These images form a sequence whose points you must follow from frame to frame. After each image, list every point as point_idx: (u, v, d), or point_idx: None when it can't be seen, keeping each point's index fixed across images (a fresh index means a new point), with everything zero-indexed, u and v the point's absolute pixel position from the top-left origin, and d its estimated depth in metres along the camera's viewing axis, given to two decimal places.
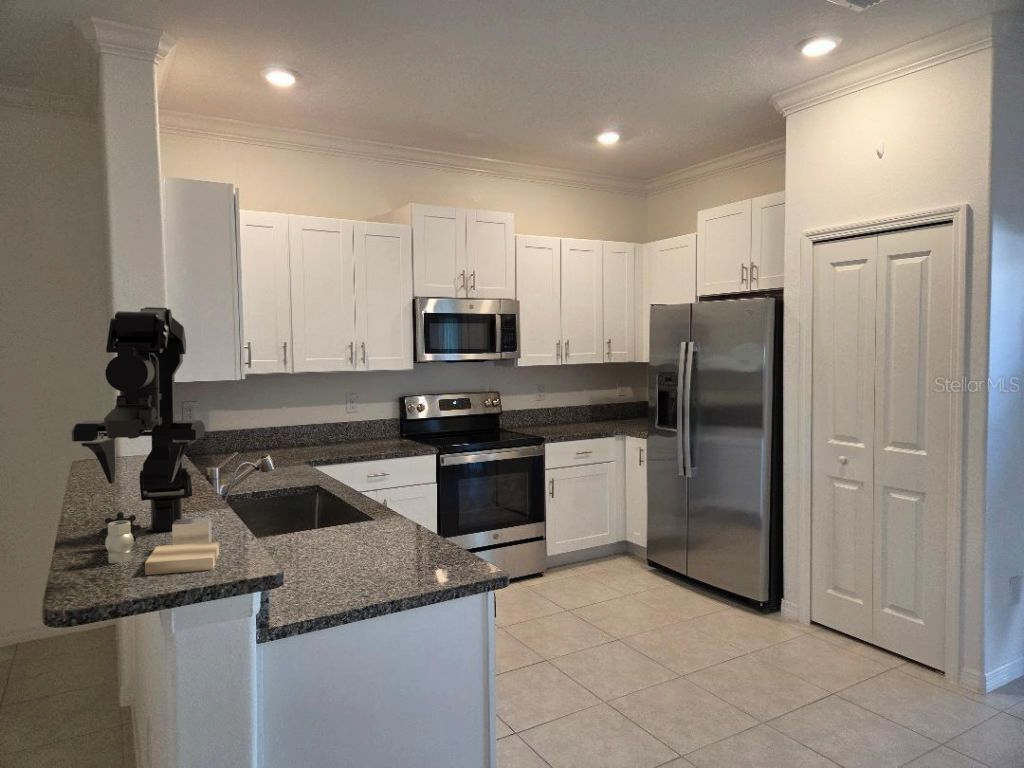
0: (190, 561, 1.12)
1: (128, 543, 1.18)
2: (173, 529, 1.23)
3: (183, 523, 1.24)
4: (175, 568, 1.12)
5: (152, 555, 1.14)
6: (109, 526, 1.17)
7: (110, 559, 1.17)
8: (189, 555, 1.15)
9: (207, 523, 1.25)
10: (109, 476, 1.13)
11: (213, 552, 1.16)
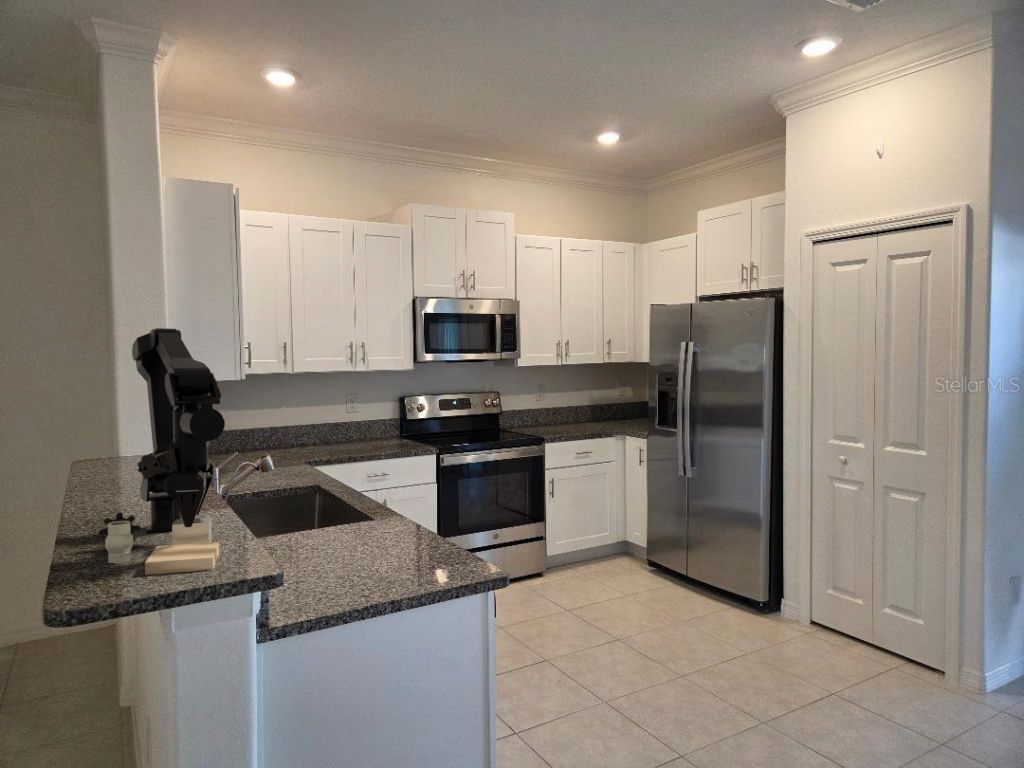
0: (190, 561, 1.12)
1: (128, 544, 1.17)
2: (173, 529, 1.23)
3: (183, 523, 1.24)
4: (175, 568, 1.12)
5: (152, 555, 1.14)
6: (109, 526, 1.16)
7: (110, 559, 1.17)
8: (189, 555, 1.15)
9: (207, 523, 1.25)
10: None
11: (213, 552, 1.16)
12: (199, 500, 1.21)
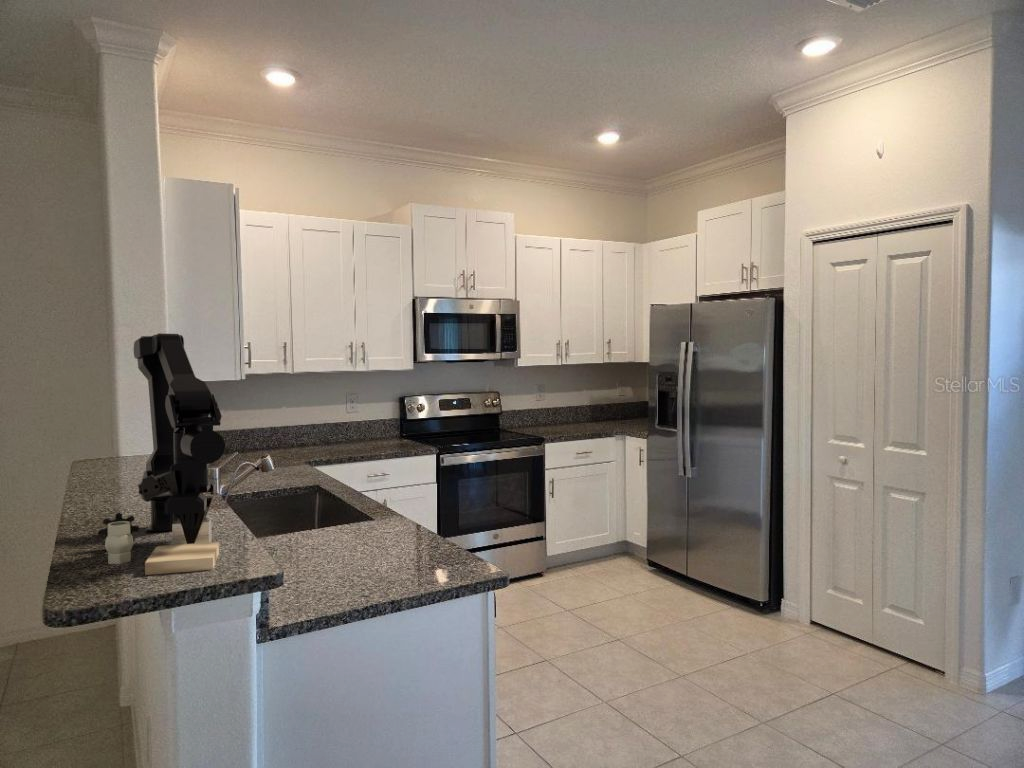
0: (190, 561, 1.12)
1: (128, 544, 1.17)
2: (173, 528, 1.23)
3: None
4: (175, 568, 1.12)
5: (152, 555, 1.14)
6: (109, 527, 1.16)
7: (110, 560, 1.16)
8: (189, 555, 1.15)
9: (207, 522, 1.25)
10: None
11: (213, 552, 1.16)
12: (201, 519, 1.23)
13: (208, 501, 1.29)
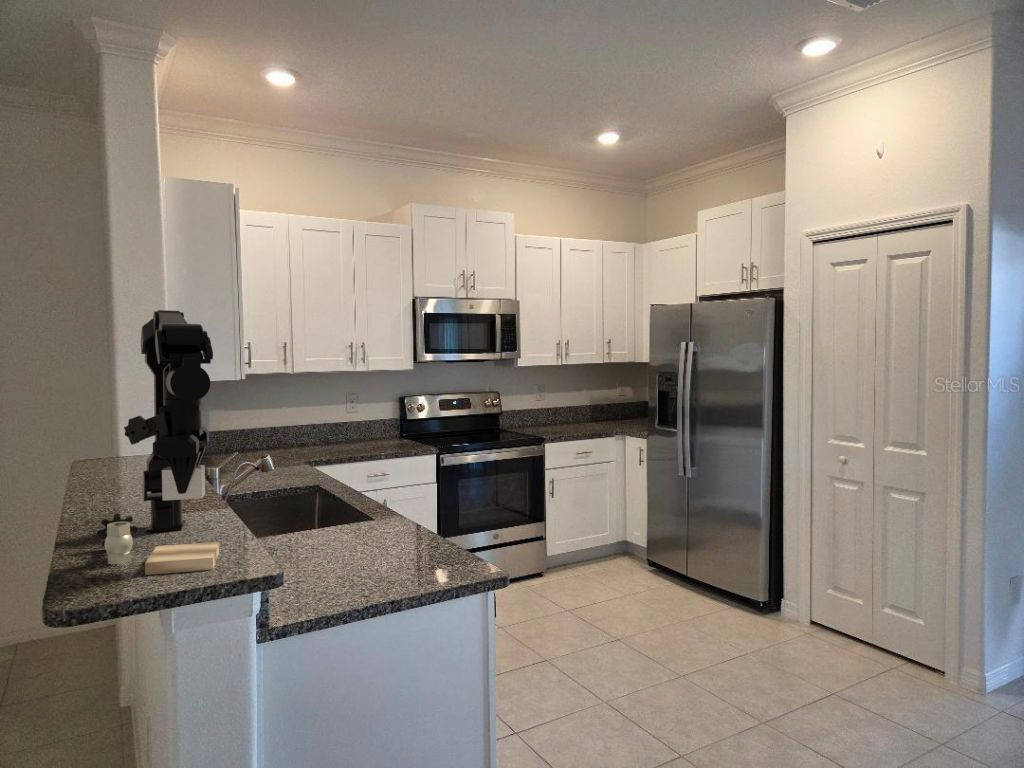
0: (190, 561, 1.12)
1: (127, 545, 1.17)
2: (163, 475, 1.14)
3: None
4: (175, 568, 1.12)
5: (152, 555, 1.14)
6: (108, 527, 1.16)
7: (110, 560, 1.16)
8: (189, 555, 1.15)
9: (200, 469, 1.15)
10: None
11: (213, 552, 1.16)
12: (193, 464, 1.13)
13: (201, 448, 1.20)
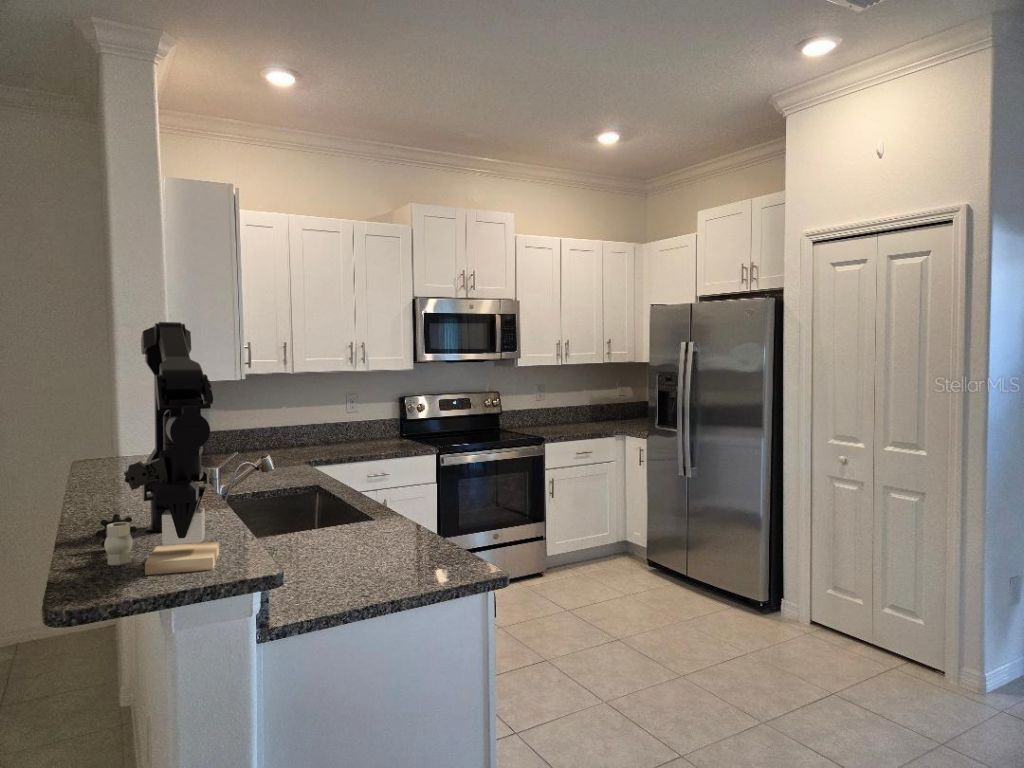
0: (190, 561, 1.12)
1: (127, 545, 1.17)
2: (163, 520, 1.14)
3: None
4: (175, 568, 1.12)
5: (152, 555, 1.14)
6: (108, 528, 1.16)
7: (109, 561, 1.16)
8: (189, 555, 1.15)
9: (200, 513, 1.16)
10: None
11: (213, 552, 1.16)
12: (193, 509, 1.13)
13: (201, 491, 1.20)
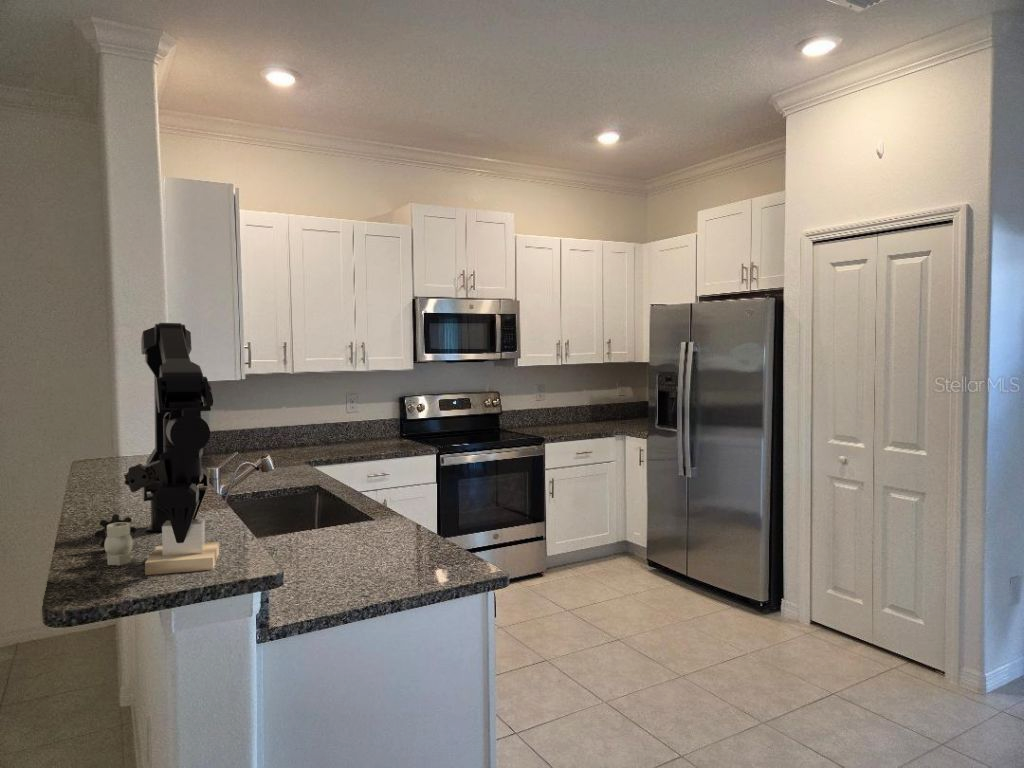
0: (190, 561, 1.12)
1: (128, 545, 1.16)
2: (163, 531, 1.14)
3: None
4: (175, 568, 1.12)
5: (152, 555, 1.14)
6: (109, 528, 1.15)
7: (109, 561, 1.16)
8: (189, 555, 1.15)
9: (200, 524, 1.16)
10: None
11: (213, 552, 1.16)
12: (192, 514, 1.12)
13: (202, 491, 1.21)
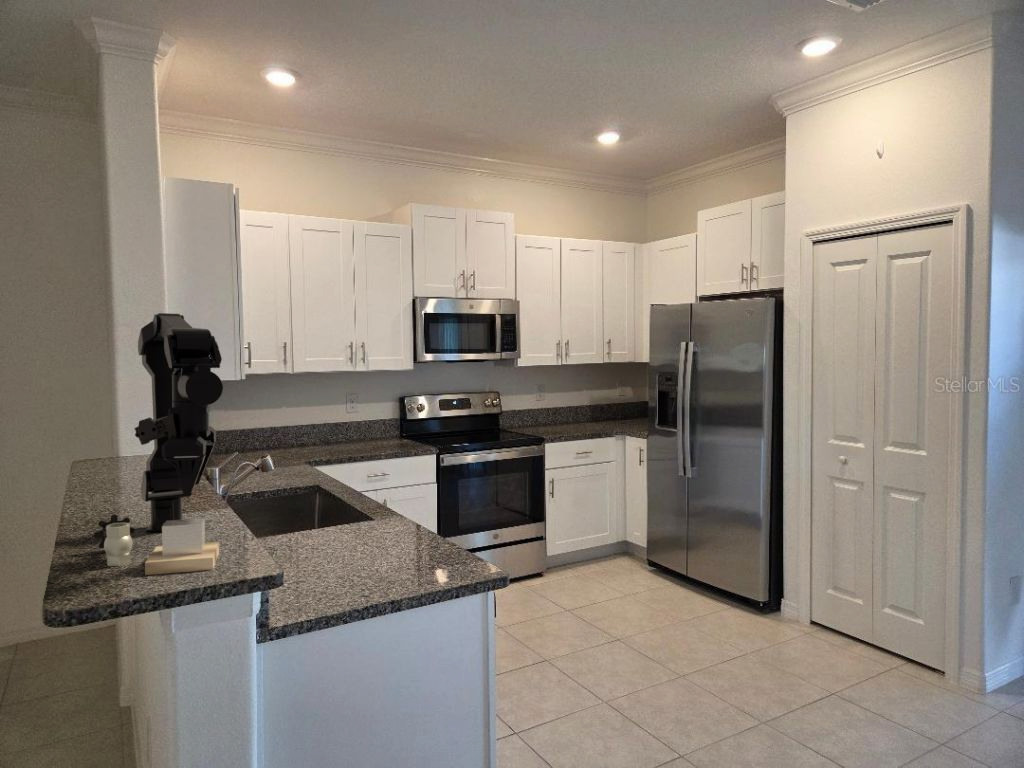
0: (190, 561, 1.12)
1: (127, 546, 1.16)
2: (163, 531, 1.14)
3: (174, 524, 1.15)
4: (175, 568, 1.12)
5: (152, 555, 1.14)
6: (108, 528, 1.15)
7: (109, 562, 1.15)
8: (189, 555, 1.15)
9: (200, 524, 1.16)
10: None
11: (213, 552, 1.16)
12: (198, 467, 1.16)
13: (210, 446, 1.27)
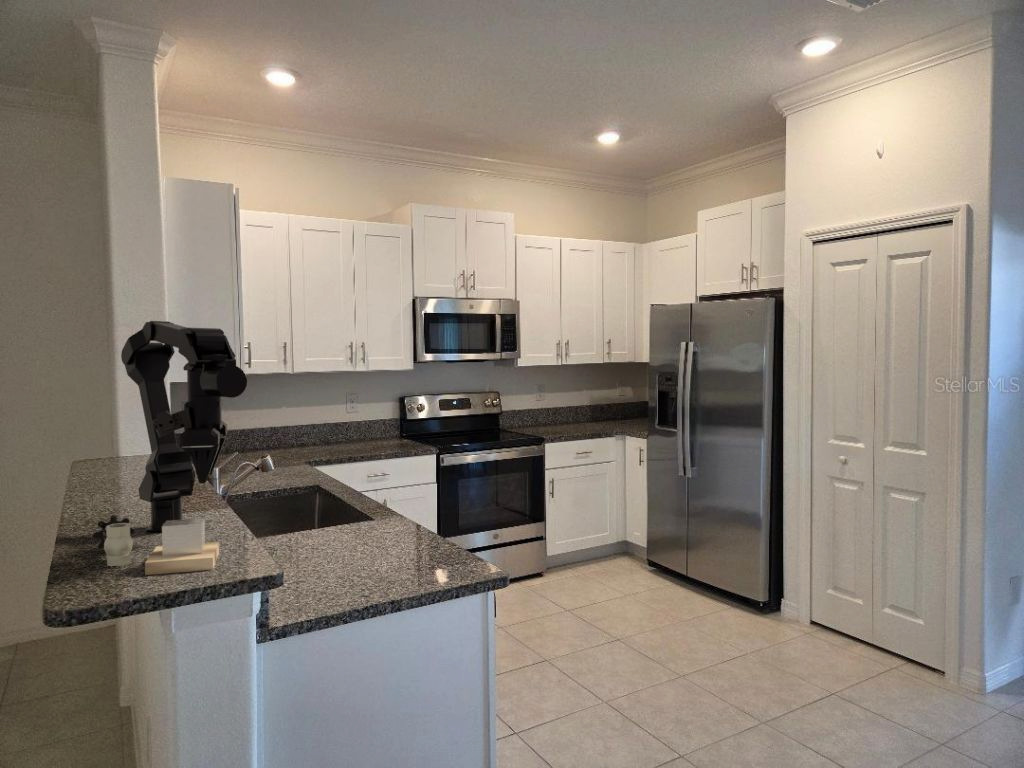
0: (190, 561, 1.12)
1: (128, 546, 1.16)
2: (163, 531, 1.14)
3: (174, 524, 1.15)
4: (175, 568, 1.12)
5: (152, 555, 1.14)
6: (108, 529, 1.15)
7: (109, 562, 1.15)
8: (189, 555, 1.15)
9: (200, 524, 1.16)
10: None
11: (213, 552, 1.16)
12: (213, 456, 1.24)
13: (222, 439, 1.35)
